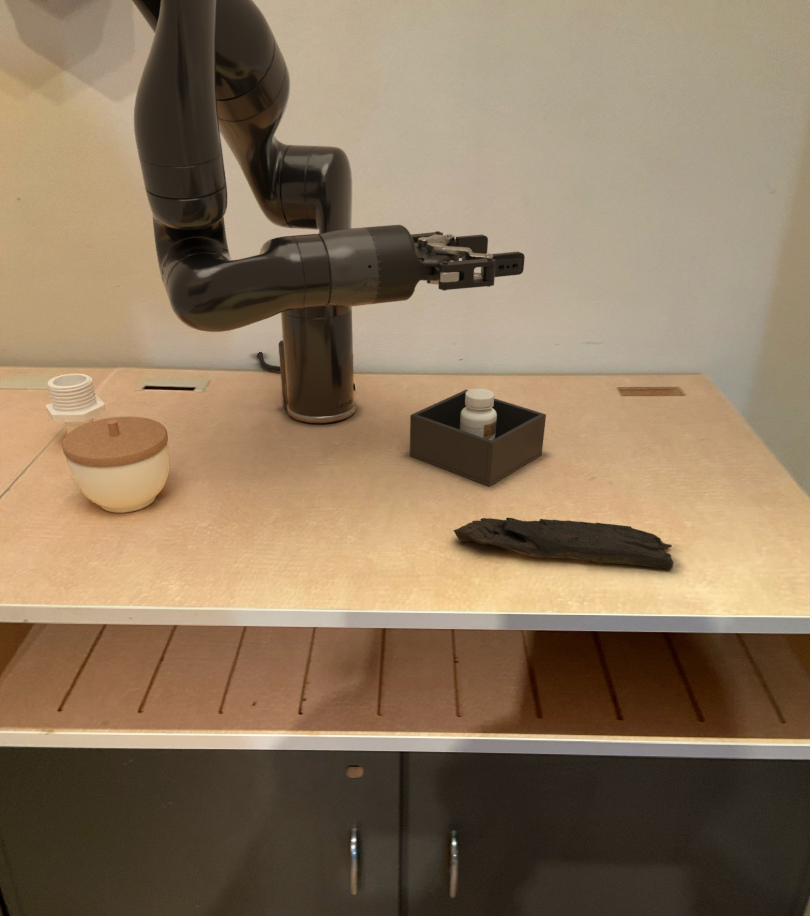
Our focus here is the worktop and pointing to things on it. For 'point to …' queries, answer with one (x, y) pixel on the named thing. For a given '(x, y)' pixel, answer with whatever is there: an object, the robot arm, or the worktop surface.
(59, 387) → the pipe fitting
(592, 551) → the wood
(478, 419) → the pill bottle
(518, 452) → the open box
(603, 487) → the worktop surface
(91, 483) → the trinket box
